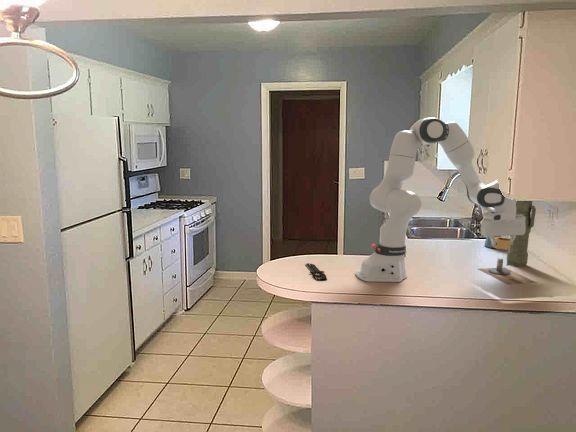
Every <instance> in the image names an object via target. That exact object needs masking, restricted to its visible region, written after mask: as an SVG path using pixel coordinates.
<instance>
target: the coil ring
mask: <svg viewBox="0 0 576 432" xmlns="http://www.w3.org/2000/svg"><path fill="white" fill-rule="evenodd" d="M494 240H495V242H497V245H496V246H493V247H494V248H493V249H496V250H506V251H507V250H509V249H510V245H511V239H510V237H505V236H501V237H495V239H494Z"/></svg>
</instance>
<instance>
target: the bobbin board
mask: <svg viewBox="0 0 576 432" xmlns="http://www.w3.org/2000/svg"><path fill="white" fill-rule="evenodd" d="M477 270H478V271H481V272H483V273H484V274H486V275H489V276H491V277H492V278H494V279H497V280H498V281H500V282H502V283H504V284H506V285H518V284H537V283H538V282H537V281H535V280H532V279H531V278H528V277H527V276H524V275H522V274H519V273H517V272H515V271H513V270H512V269H509V268H507V267H504V259H503V258H497V261H496V267H492V268H491V267H490V268H489V267H487V268H477Z"/></svg>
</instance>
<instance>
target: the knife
mask: <svg viewBox="0 0 576 432" xmlns="http://www.w3.org/2000/svg"><path fill="white" fill-rule="evenodd" d="M305 266H306V268H307V269H308V270H309V274H311V275H312V277H313V279H316V281H317V282H323V281H328V278H327V274H325V271H324V270H320V269H319V268H318V267H317V266H316V265H315V264H313V263H310V262H307V263H306V264H305Z"/></svg>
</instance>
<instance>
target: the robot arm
mask: <svg viewBox="0 0 576 432" xmlns="http://www.w3.org/2000/svg"><path fill="white" fill-rule="evenodd" d="M435 143H438V144H439V146H440V147H441V148H442V149H443V152H444V154H445V155H446V156H447V158H448V160H449V162H451V163H452V164H453V167H455V169H456V171H458V173H459V175H460V178H461V179H462V181H463V182H464V184H465V187H466V188H465V189H466V195H467V199H468V200H469V202H471V203H472V204H474V205H477V206H479V207H482V208H484V209H485V208H488V209H489V208H494V209H492V210H489V211H487V212H484V213H483V215H482V217H483V218H484V219H483V220H482V221H481V225H480V235H482V236H483V237H485V238H486V237H488V236H490V237H489V238H490V240H491V245H492V246H496V245H497V242H495V240H494V239H495V236H501V237H507V236H509V239H511V245H513V241H514V240H515V238H516V235H524V234H525V230H526V227H525V216H524V215H523V214H519V215H518V214H516V200H511V199H508V198H506V197H504V196H503V195H502V193H501V191H500V189H499V184H498V181H497V180H498V179H497V180H495V181H493V182H491V183H487V184H486V183H484V182H482V180H481V179H480V178H479V176H478V174H477V172H476V170H475V168H474V166H473V164H472V163H473V162H472V161H473V159H474V156H475V151H474V148H473V144H472V142H471V141H470V139H469V138H468V136H467V134H466V132H465V131H464V130H463V129H462V127H461V126H460V125H459V124H458V123H457V122H456V121H453V120H452V121H447V122H444V121H443V120H441V119H439V118H438V117H424V118H421V119H418V120H416V121H414V122H412V124H411V125H410V126H409V127H408V129H407V130H401V131H398V132H396V134H395V135H394V138H393V141H392V143H391V147H390V151H389V157H388V161H387V167H386V171H385V174H384V176H383V178H382V180H381V181H380V183H379V184H378V185H377V186H376V187H375V188H373V190H372V191H371V192H370V195H369V203H370V205H371V206H372V208H373V209H376V210H378V211H379V212H382V213H383V212H384V213H389V215H388V220H387V221H386V222H384V223H383V224H381V226H380V228H379V243H378V244H377V245H376V244H375V243H372V244H371V248H372V249H374V252H373V253H372V254H370V255H369V256H368V257H366V258H364V259H363V261H362V263H361V265H360V269H356V271H355V276H356V277H357V278H358V279H360V280H362V281H364V282H367V283H370V282H373V283H375V282H377V283H378V282H381V283H383V282H384V283H389V282H390V283H399V282H403V280H405V279H407V278H408V274H407V270H406V259H405V257H406V253H407V245H406V235H407V230H408V225H409V223H410V221H411V220H412V219H413V217H414V216H416V215H417V214H418V213H419V212H420V210H421V207H422V199H421V196H420V195H418V194H417V193H415V192H413V191H410V190H408V189H407V190H406V189H402V188H403V185H404V184H405V183H406V182H407V181H409V180H410V179H411V178H412V177H413V174H414V169H415V164H416V157H417V152H418V150H419V147H420V146H421V145H431V144H435ZM523 216H524V217H523ZM510 237H511V238H510Z"/></svg>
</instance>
